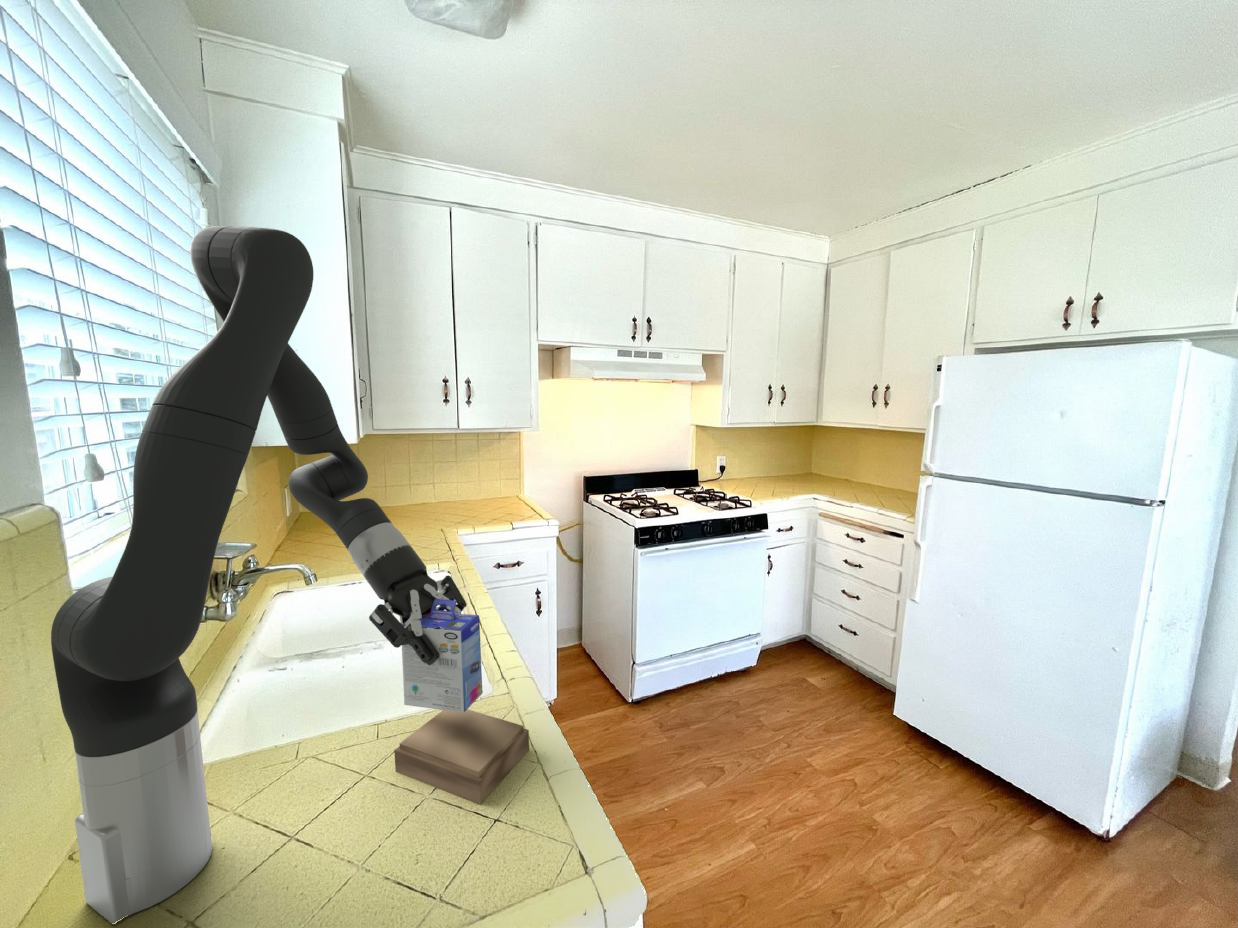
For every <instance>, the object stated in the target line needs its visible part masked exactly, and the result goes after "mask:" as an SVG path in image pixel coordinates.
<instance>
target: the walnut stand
mask: <svg viewBox="0 0 1238 928" xmlns="http://www.w3.org/2000/svg"><path fill="white" fill-rule="evenodd" d="M524 727H525V726H524V725H522V724H519V723H515V722H511V721H509V720H505V719H501V718H498V717H495V716H492V715H488V714H485V713H482V712H478V711H475V710H472V709H469V708H468V709H467V710H466V711H465V712H464V713H461V712H454V711H446V710H440V712H439V713H437V714H436V715H434V717H432V718H431V719H429V720H427V722H426V723H424V724H423V725H422V726H420V727H419V728H418V729H416V730H415V731H414V732H412V733H411V734H410V735H409V736H408V737H406V738H404V739H403V740H402V741H401V742H399V746H398V747H396V748H395V749H394V750H393V751H394V752H393V753H394V765H395V766H394V767H395V772H397V773H399V774H402V775H404V776H406V777H409V778H412V779H414V780H416V781H419V782H421V783H422V782H423V783H424V784H427V785H429V786H431V787H435V788H437V789H438V790H439V789H440V790H442V791H445V792H447V793H449V794H452V795H455V796H458V797H460V798H462V799H464V800H467V801H470V802H472V803H475V804H477V805H482V804H483V803H484V802H485V800H486V799H487V798H488V797H489V796H490V795H491V793H492V792H493V791H494V790H495V789H496V788H497V786H499V784H500V783H501V782H502V781H503V780H504V779H505V778H506V777H507V775H508V774H510V772H511V771H512V770H513V769H514V767H515V766H516V765H517V764H518V763H519V762H520V761H521V760H522V758H524V757H525V755H526V754H527V753H528V752H529V751H530V735H529V734H530V733H529V729H527V728H524Z"/></svg>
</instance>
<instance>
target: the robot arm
mask: <svg viewBox="0 0 1238 928" xmlns="http://www.w3.org/2000/svg"><path fill="white" fill-rule="evenodd" d="M191 241H192V242H191V243H190V250H189V256H190V257H189V258H190V262H191V266H192V269H193V272H194V275H195V276H196V278H197V280H198V282H199V284H200V286H201V287H202V290H203V291H204V292H205V296H207V299H208V300H209V302H211V305H212V306H213V308H214V309H215V311H216V312H217V314H218V315H219V317H220V318H221V320H222V322H223V324H222V325H221V326H220V327H219V330H217V332H216V333H215V334H214V335H213V337H212V338H211V339H210V340H209V341H207V342H206V343H205V344H204V345H203V346H202V347H201V348H200V349H198V351H196V353H194V354H193V355H192V356H191V357H190V358H188V359H187V360H186V361H185V362H184V363H183V364H182V365H181V366H180V367H179V368H178V369H177V370H176V371H174V372H173V373H172V375H171V376H169V378H168V379H166V381H165V382H164V383H163V384H162V386H161V387H160V388H159V390H158V392H157V394H156V396H155V398H154V400H153V402H152V406H151V407H150V409H149V412H148V415H147V417H146V420H145V423H144V424H143V428H142V430H141V432H140V436H139V439H138V443H137V447H136V451H135V456H134V463H133V478H132V480H133V481H132V482H133V483H132V490H133V493H132V496H133V499H132V500H133V502H132V503H133V504H132V505H133V509H132V510H133V511H132V519H131V520H132V521H131V522H132V523H131V529H130V532H129V536H128V539H127V541H126V542H127V543H126V545H125V548H124V550H123V553H122V556H121V558H120V560H119V561H118V564H117V566H116V569H115V570H114V573H113V576H109V577H105V578H104V577H103V578H102V579H98V580H96V581H92V582H91V583H89V584H87V585H85V586H83V587H82V588H80V589H78V590H77V591H75V592H73V594H72V595H71V596H69V598H67V599H66V600H65V601H64V603H63V604H62V605H61V606H60V608H59V609H58V611H57V612H56V614H55V616H54V618H53V621H52V624H51V630H50V632H51V633H50V644H51V645H50V646H51V652H52V653H51V654H52V659H53V660H52V661H53V666H54V670H55V671H54V673H55V677H56V683H57V689H58V693H59V694H58V695H59V701H60V707H61V711H62V713H63V717H64V720H65V722H66V724H67V726H68V728H69V730H70V734H71V736H72V737H71V738H72V742H73V748H74V753H75V754H74V755H75V762H76V763H75V764H76V770H77V777H78V784H79V792H80V800H81V808H82V813H81V814H80V815H78V816H76V818H75V819H74V823H75V824H74V825H75V832H76V839H77V846H78V855H79V862H80V868H81V875H82V882H83V883H82V884H83V890H84V897H85V903H86V904H88V905H89V906H90V907H91V908H92V909H93V910H94V911H96V912H97V913H98V914H99V915H100V916H101V917H103V916H104V917H105V918H106V919H107V920H109V921H110V922H111V923H115V922H116V921H118V920H120V919H122V918H123V917H125V916H127V915H129V916H131V915H133V914H136V913H138V912H141V911H143V910H146V909H149V908H150V907H152V906H154V905H157V904H159V903H161V902H163V901H164V900H166V899H168V898H169V897H170V896H173V895H174V894H175V893H177V892H179V891H180V890H181V889H182V888H184V887H185V886H187V885H188V884H189V883H190V882H191V881H192V880H193V879H194V878H195V877H197V875H198V874H199V873H200V872H201V871H202V870H203V869H204V868H205V866H206V864H207V863H208V862H209V860H210V858H211V856H212V850H213V844H212V829H211V824H210V816H209V815H210V813H209V805H208V804H209V803H208V796H207V788H206V787H207V786H206V777H205V767H204V758H203V750H202V749H203V748H202V747H203V746H202V739H201V730H200V721H199V713H198V712H199V710H198V709H199V708H198V699H197V693H196V692H197V691H196V687H195V685H193V682H192V681H191V680H190V678H189V676H188V674H187V673H186V672H185V670H184V668H183V665H182V663H181V660H180V657H181V656H182V655H183V654H185V652H186V651H187V649H189V647H190V646H191V644H192V643H193V642H194V639H195V638H196V635H197V634H198V631H199V629H200V626H201V622H202V619H203V613H204V609H205V604H206V598H207V593H208V590H209V589H208V588H209V583H210V581H211V580H210V579H211V573H212V569H213V564H214V560H215V556H216V551H217V546H218V543H219V540H220V536H221V533H222V530H223V528H224V525H225V522H226V519H227V516H228V514H229V510H230V508H231V506H232V503H233V499H234V496H235V493H236V490H237V487H238V484H239V481H240V478H241V476H242V473H243V470H244V468H245V465H246V462H247V459H248V458H249V457H248V456H249V453H250V451H251V449H252V448H251V447H252V445H253V442H254V439H255V435H256V432H257V429H258V425H259V423H260V419H261V415H262V412H263V408H264V406H265V402H266V399H268V401H269V403H270V405H271V408H272V410H273V412H274V416H275V418H276V421H277V422H278V425H279V428H280V430H281V432H282V434H283V437H284V440H285V442H286V444H287V446H288V448H289V449H290V450H291V451H292V452H293V453H295V454H297V455H302V456H303V455H304V456H305V455H307V456H309V455H319V454H328V453H329V454H331V455H329V456H326V457H324V458H321V459H319V460H315V461H313V462H311V463H307V464H305V465H302V466H299V467H297V468H295V469H294V470H293V471H292V472H291V474H290V475H289V477H288V488H289V491H290V493H291V495H292V497H294V499H295V500H296V501H297V503H299V505H302V507H304V509H306V510H308V511H309V512H311V514H313V515H315V516H316V517H317V518H319V519H320V520H322V521H323V522H324V523H325V524H326V525H327V526H328V527H329V528H330V529H332V531H334V532H335V534H336V536H338V538H339V540H340V541H341V542H342V545H344V546H345V548H346V549H347V551H348V552H349V553H348V554H350V556H351V558H352V560H353V562H354V564H355V565H356V567H357V568H358V570H359V571H360V573H361V574H362V575H363V577H364V579H365V580H366V582H367V583H368V584H369V586H370V587H371V589H372V590H373V591H374V593H375V595H376V596H377V597H378V599H380V600H382V601H384V603H383V604H381V603H380V604H378V605H377V606H376V607H375V609H374V610H373V611H372V612H371V614H370V615H369V617H368V619H369V621H370V622H371V623H372V624H373V626H375V628H376V629H377V630H378V631H379V632H380V633H381V634H382V635H383V636H384V638H385V639H386V640H387V641H388V642H389V643H390V644H391V645H392V646H393V647H394V648H395V649H397V648H401V647H402V645H410V646H412V648H413V649H414V650H415V652H416V653H417V655H418V656H419V657H420V659H421V660H422V661H423V662H424V663H427V664H428V665H431V664H433V663H434V662H435V661H436V660H437V659H438V658H439V657H440V655H439V653H438V651H437V650H436V648H435V647H434V646H433V644H432V643H431V641H430V640H429V639H428V637H427V636H426V634H425V635H423V636H422V634H423V631H422V626H421V618H422V615H424V614H428V613H430V612H431V609H432V606H433V603H434V600H435V599H443V600H454V601H457V602H456V607H455V612H454V613H455V614H462V612H463V611H464V609H465V608H466V607H467V606H468V605H467V604H468V603H467V601H466V599H465V598H464V596H463V595H462V593H461V591H460V589H459V588H458V585H456V582H455V581H454V578H452V576H451V575H446V576H445V577H444V578H443V579H439V580H436V581H435V579H433V578H432V577H430V576H429V575H428V572H427V569H428V568H427V566H426V564H425V563H424V562H423V560H422V559H421V558H420V556H419V555H418V553H417V552H416V551H415V549H414V548H413V547H412V545H411V544H410V543H409V542H408V540H407V538H406V537H405V536H404V534H403V533H402V532H401V531H400V530H399V529H398V528H397V527H395V525H394V523H393V522H392V521H391V520H390V518H389V517H388V515H386V514H387V513H385V512H384V511H383V509H382V508H381V506H380V505H379V504H378V502H376V501H375V500H374V499H372V498H370V497H361V498H357V499H356V498H355V499H351V500H345V499H346V498H348V497H351V496H353V495H356V494H357V493H361V491H363V490H364V489H365V488H366V486H367V483H368V480H369V473H368V469H367V468H366V467H365V465H364V464H363V462H362V461H361V459H360V458H359V457H358V456H357V455H356V453H355V451H354V450H352V448H351V446H350V445H349V443H348V442H347V440H346V438H345V437H344V435H343V433H342V431H341V429H340V426H339V424H338V420H337V417H336V414H335V410H334V408H333V405H332V402H331V400H330V396H329V395H328V393H327V391H326V389H325V387H324V385H323V384H322V383H321V381H320V380H319V378H318V377H317V376H316V375H315V373H314V372H313V371H312V370H311V368H310V367H309V366H308V365H307V364H306V363H305V361H304V360H303V359H301V357H300V356H299V355H298V354H297V352H296V351H295V350H294V348H293V347H292V346H291V345H290V344H289V342H290V340H291V337H292V335H293V333H294V331H295V329H296V328H297V325H298V323H299V321H300V319H301V317H302V315H303V312H304V311H305V308H306V306H307V303H308V301H309V298H310V296H311V292H312V291H313V284H314V267H313V261H312V258H311V255H310V252H309V251H308V249H307V247H306V246H305V244H304V242H302V241H301V240H300V239H299V238H298V237H296V236H294V235H293V234H291V233H289V232H287V231H285V230H280V229H278V228H277V229H275V228H269V227H262V226H261V227H260V226H259V227H257V226H256V227H255V226H238V225H237V226H236V225H212V226H207V227H205V228H203V229H201V230H199V231H198V232H197V233H196V234H195V235H194V237H193V238H192V240H191ZM343 500H345V501H343ZM436 609H437V610H444V611H450V610H451V607H449V606H447V605H445V604H444V605H438V606H437V607H436ZM395 615H397V616H399V619H398V618H397V617H396V616H395ZM406 621H407V622H406ZM405 622H406V623H405ZM403 623H405V627H404V626H403V625H402V624H403ZM410 625H411V628H412V631H408V629H407V628H408V627H409V626H410ZM104 917H103V918H104ZM127 917H128V916H127ZM105 918H104V919H105ZM106 919H105V920H106ZM107 920H106V921H107ZM109 921H108V922H109ZM110 922H109V923H110ZM111 923H110V924H111Z"/></svg>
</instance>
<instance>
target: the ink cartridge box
mask: <svg viewBox="0 0 1238 928" xmlns="http://www.w3.org/2000/svg"><path fill="white" fill-rule="evenodd" d="M444 604H445V605H447V606H449V607H451V610H450V611H446V610H437V609H436V607H439V606H440V605H444ZM456 604H457V601H454V600H443V599H435V600H434V603H433V606H432V609H431V612H430V613H428V614H424V615H422V618H421V626H422V631H423V634H422V636H423V635H425V634H426V636H427V637H428V639H429V640H430V641H431V643H432V644H433V646H434V647H435V648H436V650H437V651H438V653H439V655H440V657H439V658H438V659H437V660H436V661H435V662H434V663H433V664H431V665H428V664H427V663H424V662H423V661H422V660H421V659H420V657H419V656H418V655H417V653H416V652H415V650H414V649H413V648H412V646H410V645H401V658H402V664H401V665H402V684H403V704H404V705H405V706H410V707H411V706H412V707H416V708H417V707H419V708H427V709H433V710H440V711H443V710H446V711H454V712H461V713H464V712H465V711H466V710H467V709H468V710H469V708H470V707H471V706H472V705H473V704H474V703H475V702H476V701H477V700H478V699H479V698H480V696H482V694H483V675H482V673H483V672H482V656H481V655H482V653H481V652H482V651H481V649H482V648H481V647H482V646H481V628H480V627H481V626H480V624H481V623H480V622H481V621H480V614H479V615H478V614H467V613H461V614H455V613H454V612H455V607H456ZM406 622H407V621H406ZM406 622H405V623H406ZM405 623H403V624H402V625H403V626H404V627H405ZM407 629H408V631H412V628H411V625H410V626H409V627H408V628H407Z"/></svg>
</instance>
